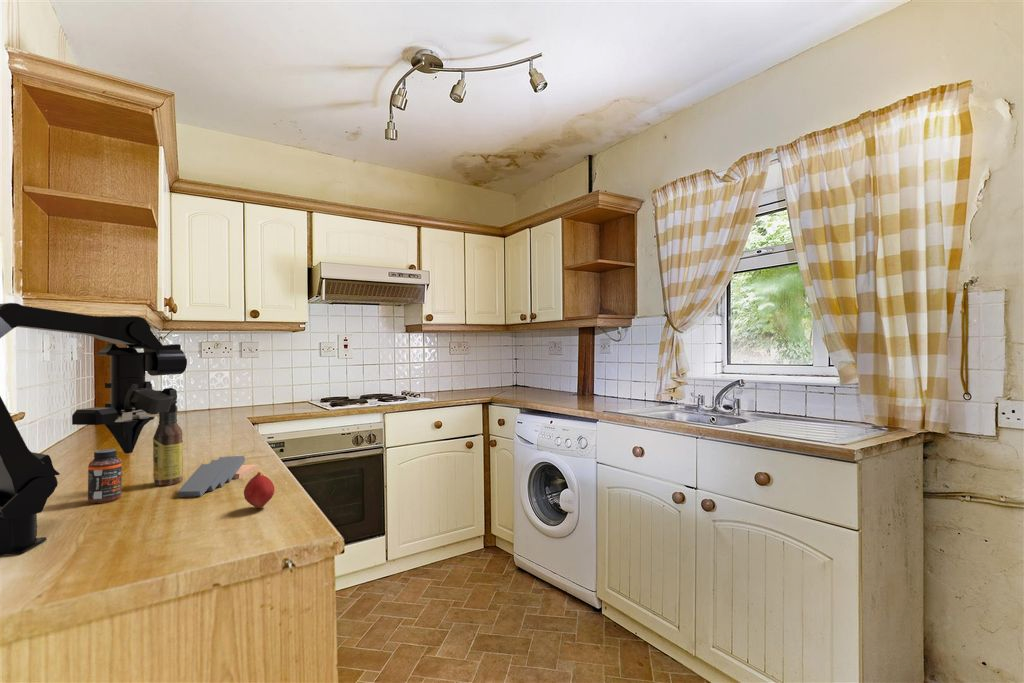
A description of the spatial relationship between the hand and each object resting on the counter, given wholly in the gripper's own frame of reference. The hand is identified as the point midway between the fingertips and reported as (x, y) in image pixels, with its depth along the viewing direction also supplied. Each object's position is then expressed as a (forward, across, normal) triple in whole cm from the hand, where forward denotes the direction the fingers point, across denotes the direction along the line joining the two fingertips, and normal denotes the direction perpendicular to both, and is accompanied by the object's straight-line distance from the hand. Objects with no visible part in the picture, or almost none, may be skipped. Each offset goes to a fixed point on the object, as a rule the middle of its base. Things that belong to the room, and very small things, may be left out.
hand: (128, 453), depth 102 cm
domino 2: (+12, +17, -2) cm, 21 cm away
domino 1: (+12, +13, -3) cm, 18 cm away
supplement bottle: (+13, +9, +15) cm, 22 cm away
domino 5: (+12, +29, -1) cm, 31 cm away
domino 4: (+12, +25, -1) cm, 28 cm away
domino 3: (+12, +21, -2) cm, 24 cm away
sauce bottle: (+13, +23, +12) cm, 29 cm away
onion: (+13, +7, -24) cm, 28 cm away
